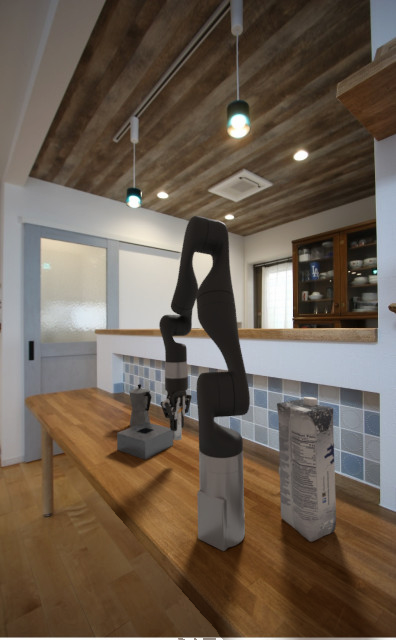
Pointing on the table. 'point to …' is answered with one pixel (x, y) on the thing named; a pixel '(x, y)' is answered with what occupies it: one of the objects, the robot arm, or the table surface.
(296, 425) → the juice carton
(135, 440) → the bore block
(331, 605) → the table surface
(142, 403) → the coffeepot
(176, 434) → the cylinder
